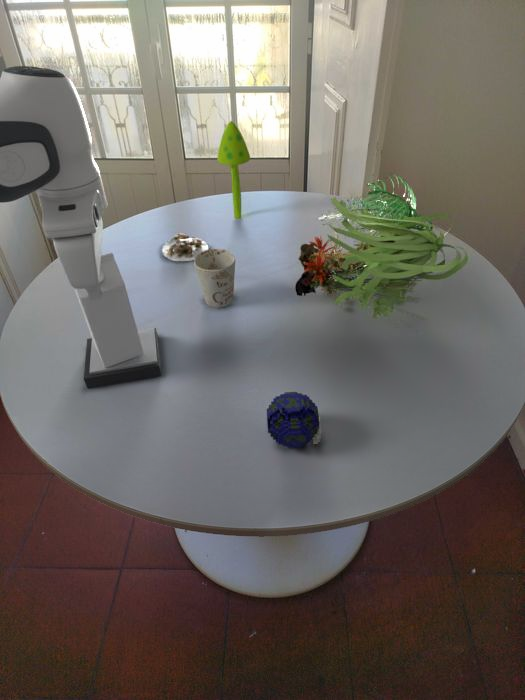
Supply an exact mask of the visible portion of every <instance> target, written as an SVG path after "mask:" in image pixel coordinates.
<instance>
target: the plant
mask: <svg viewBox="0 0 525 700" xmlns="http://www.w3.org/2000/svg"><path fill="white" fill-rule="evenodd" d="M391 175H392V176H394V178H395V179H396V180H397V181H401V184H403V185H404V187H405V191H404V194H403V197H405V196H406V192H408V191H409V194H408V197H407V198H406V200H405V199H404V198H402V197H401V196H400V195H397V194H395V193H394V192H395V191H392V193H391V192H388V191H386V190H387V185H386V183H385V182H384V180H382V179H380V178H378V181H380V183H381V184H382V186H383V189H382V187H381V186H380V185H379V184H377V183H375V182H371V183H370V182H368V183H367V184H366V187H371V188H372V190H371V191H366V194H367V195H366V196H364V198H363V199H362V197H363V195H359V196H356V198H353V196H351V197H350V199H347V200H346V201H347V202H348V203H349V205H347V204H346V202H344V201H343V199H341V201H338V199H337V198H336V196H334V197H332V198H329V200H330V202H331V203H332V204H333V205H334V206H335V209H336V210H337V211H338V212H333V213H330V211H327V212H328V213H329V215H327V214H323V213H321V214H322V215H323V216H322V217H317V220H320V221H321V222H325V221H327V220H330V219H332V220H331V221H329V222H327V223H322V226H326V225H327V226H328V227H330V228H331V230H333V231H334V236H335V237H334V236H332V235H329V234H327V237H328V239H327V240H326V242H325V243H324V241H323V239H322V235H321V233H320V237H318V236H316V235H315V236H314V240H315V242H314V241H308V242H309V244H308V243H303V244H301V245H300V255H299V257H298V260H299V262H300V264H301V266H302V268H303V270H304V271H303V273H302V274H301V276H300V277H299V279H298V280H297V281H296V283H295V285H294V289H295V290H294V291H295V293H296V295H297V296H298V297H303V296H304V297H306V295H307V294H312V293H314V294H317V292H316V289H317V288H319V289H320V288H321V291H323V295H324V296H327V295H330V296H331V297H332V296H333V295H334V296H335V298H336V299H335V300H334V301H333V303H334V304H335V305H336V306H342V304H343V301H344V300H346V302H347V303H348V310H351V305H350V299H351V300H354V301H355V302H357V303H360V304H358V306H359V307H360V308H361V309H362V310H363V309H365V308H366V307H368V308H369V309H371V310H373V311H372V315H371V317H372V319H377V318H378V316H380V317H381V316H382V315H383V316H384V317H387V318H389V319H392V320H393V321H395V322H397V323H399V324H400V325H403V326H405V327H407V328H409V329H411V330H413V331H415V332H418V330H417V329H415V328H413V327H411V326H409V325H407V324H406V323H403V322H401V321H399V320H397V319H395V318H393V317H391V316H389V315H388V312H389V313H391V314H393V313H394V311H396V312H399V313H401V314H403V315H407V316H410V317H413V318H415V319H419V320H422V321H424V320H427V318H426V317H423V316H420V315H417V314H414V313H411V312H408V311H406V310H402V309H399V308H396V307H395V304H396V301H398V303H402V305H404V304H405V303H406V302H410V303H416V304H419V301H414V300H413V301H412V300H408V299H406V298H412V296H409V295H406V294H407V292H408V291H409V292H411V293H414V292H415V290H413V288H412V287H411V286H417V283H416V282H422V281H423V280H431V281H439V280H444V279H447V278H449V277H451V276H453V275H455V274H456V273H457V272H459V271H460V270H462V269H463V268H464V267H465V266H466V265H467V263H468V260H469V255H468V253H467V252H466V250H465V249H464V248H463V247H461V246H457V245H451V244H446V243H444V238H445V236H446V235H447V234H448V233H449V231H447V232H446V233H444V234H443V232H442V231H441V230H440V228H439V227H438V226H437V225H434V224H433V222H431V220H437V219H444V218H450V219H453V217H452V216H451V215H450V214H447V213H439V214H432V215H422V214H421V213H420V212H419V210H417V211H416V207H417V198H416V194H414V190H413V188H412V186H411V185H410V184H409V183H408V182H407V181H406V179H404V178H402V177H401V176H400V175H395V174H394V173H391ZM387 178H388V179H390V181H391V183H392V186H393V187H395V183H394V181H393V179H392V178H391V177H390V176H386V177H385V178H384V179H387ZM398 178H399V179H398ZM397 184H398V185H397V186H398V187H399V183H397ZM376 187H377V188H376ZM400 191H402V188H401V189H400ZM385 195H386V196H385ZM384 196H385V197H384ZM389 196H390V197H389ZM393 199H394V200H393ZM410 199H411V200H410ZM350 200H352V201H350ZM354 200H355V201H356V203H355V201H354ZM351 202H352V203H351ZM409 202H410V203H409ZM341 220H342V221H341ZM340 221H341V223H340V224H337V225H334V224H336V223H339V222H340ZM349 221H350V222H349ZM426 221H427V222H426ZM354 224H355V226H353V225H354ZM454 224H455V221H454V220H452V224H451V227H450V228H449V230H451V229H452V228H453V226H454ZM333 225H334V226H333ZM433 228H435V229H436V230H438V231H439V236H437V234H436V233H435V232H434V231H433ZM365 231H366V232H365ZM338 234H340V235H342V236H344V239H345V240H346V239H348V238H351V239H354V241H353V242H354V244H353V246H355V247H352V246H350V245H349V244H347V243H346V242H344V241H341V240H340V239H338V238H339V235H338ZM356 242H358V243H357V244H356ZM323 243H324V244H323ZM329 243H333V244H331V246H330V247H329V248H327V249H326V247H327V246H328V244H329ZM444 247H445V248H446V247H447V248H451V249H454V250H455V251H456V257H455V258H454V259H452V260H451V261H450V262H448V263H446V254H445V252H444V249H443V248H444ZM343 249H345V250H346V252H342V251H343ZM457 249H461V250H463V251H464V258H463V259H462V254H461V253H460V251H459V250H457ZM439 251H440V252H441V253H442V256H443V260H442V261H440V262H439V263H437V261H438V252H439ZM436 263H437V264H436ZM439 272H442V273H439ZM434 273H437V274H434ZM372 296H374V297H377V298H376V299H375V300H372V299H371V298H372ZM355 298H358V300H357V299H355ZM413 298H415V299H420V297H418V296H413ZM369 303H370V305H371V306H369V305H368V304H369ZM341 308H342V307H340V308H339V309H340V310H341Z"/></svg>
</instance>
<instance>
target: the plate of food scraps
mask: <svg viewBox="0 0 525 700" xmlns="http://www.w3.org/2000/svg"><path fill="white" fill-rule="evenodd" d="M207 250H210V248H209V246H208V244H207V242H205V241H204V240H202V239H201V238H199V237H195V236H191V237H190V236H189V235H187V234H185V233H182V232H178V234H174V236H173V237H172V238H171V239H169V240H167V241H166V242H165V243H164V245H163V246H162V247H161V253H162V255H163V256H164V257H165V258H167V260H170V261H172V262H177V263H179V262H191V261H194V259H195V257H196V256H197V255H198V254H200V253H202V252H204V251H207Z"/></svg>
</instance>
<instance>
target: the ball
mask: <svg viewBox="0 0 525 700" xmlns="http://www.w3.org/2000/svg"><path fill="white" fill-rule="evenodd" d="M266 423H267V425H266V426H267V433H268V434H270V438H272V440H273V441H275V443H277V445H282V446H283V447H287V448H289V449H291V448H292V449H293V448H301V447H302V446H306V444H308V443H310V442H312V444H313V445H319V443H320V442H321V439H322V435H321V433H322V424H321V416H320V414H319V408H318V405H316V403H315V402H313V399H310V396H308V394H303V393H301V392H299V393H298V391H287V392H286V391H285V392H284V393H281V394H279V395H276V396H275V397H273V399H272V401H270V404H268V408H266Z"/></svg>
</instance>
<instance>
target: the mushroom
mask: <svg viewBox="0 0 525 700" xmlns="http://www.w3.org/2000/svg"><path fill="white" fill-rule="evenodd" d="M216 159H217V162H218V163H219V164H221V165H225V166H230V175H231V189H232V191H231V192H232V203H233V204H232V205H233V215H234V219H236V220H237V219H238V220H240V219H241V218H242V190H241V189H242V188H241V181H240V171H239V170H240V169H239V165H244V164H247V163H248V162H249V161H250V160H251V154H250V152H249V149H248V146H247V143H246V141H245V139H244V137H243V134H242V132H241V130H240V128H238V126H237V125H236V123H235V122H233V120H230V121H229V122H228V123H227V125H226V126H225V129H224V131H223V133H222V136H221V139H220V143H219V147H218V152H217V158H216Z"/></svg>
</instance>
